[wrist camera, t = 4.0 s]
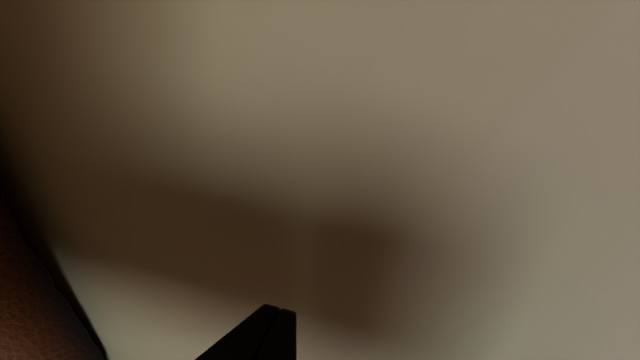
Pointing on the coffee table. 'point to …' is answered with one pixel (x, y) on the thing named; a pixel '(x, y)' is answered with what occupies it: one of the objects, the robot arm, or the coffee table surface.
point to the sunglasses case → (34, 305)
